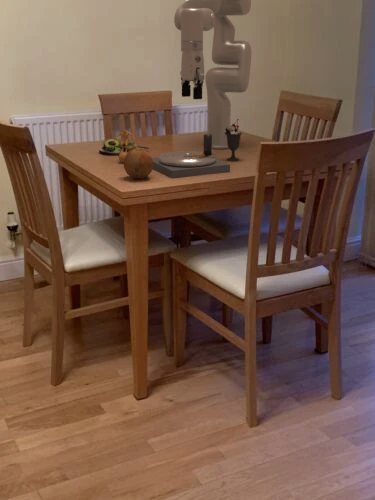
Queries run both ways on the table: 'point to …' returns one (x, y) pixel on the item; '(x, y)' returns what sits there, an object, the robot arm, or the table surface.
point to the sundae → (233, 140)
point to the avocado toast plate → (117, 147)
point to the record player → (190, 156)
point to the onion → (138, 163)
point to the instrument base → (190, 169)
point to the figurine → (125, 136)
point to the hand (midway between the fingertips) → (191, 97)
